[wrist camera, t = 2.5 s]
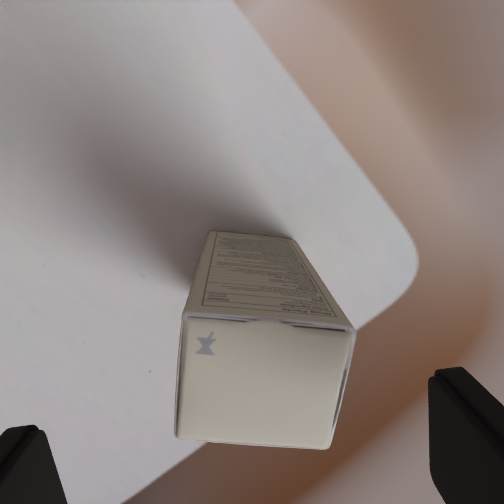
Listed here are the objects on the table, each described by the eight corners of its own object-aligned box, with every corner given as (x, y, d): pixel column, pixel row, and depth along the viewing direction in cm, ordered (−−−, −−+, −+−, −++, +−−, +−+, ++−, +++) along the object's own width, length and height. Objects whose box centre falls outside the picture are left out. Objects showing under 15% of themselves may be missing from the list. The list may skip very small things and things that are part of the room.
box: (201, 300, 22) (160, 441, 12) (208, 227, 21) (171, 308, 10) (291, 310, 22) (333, 457, 12) (303, 239, 21) (361, 329, 11)
